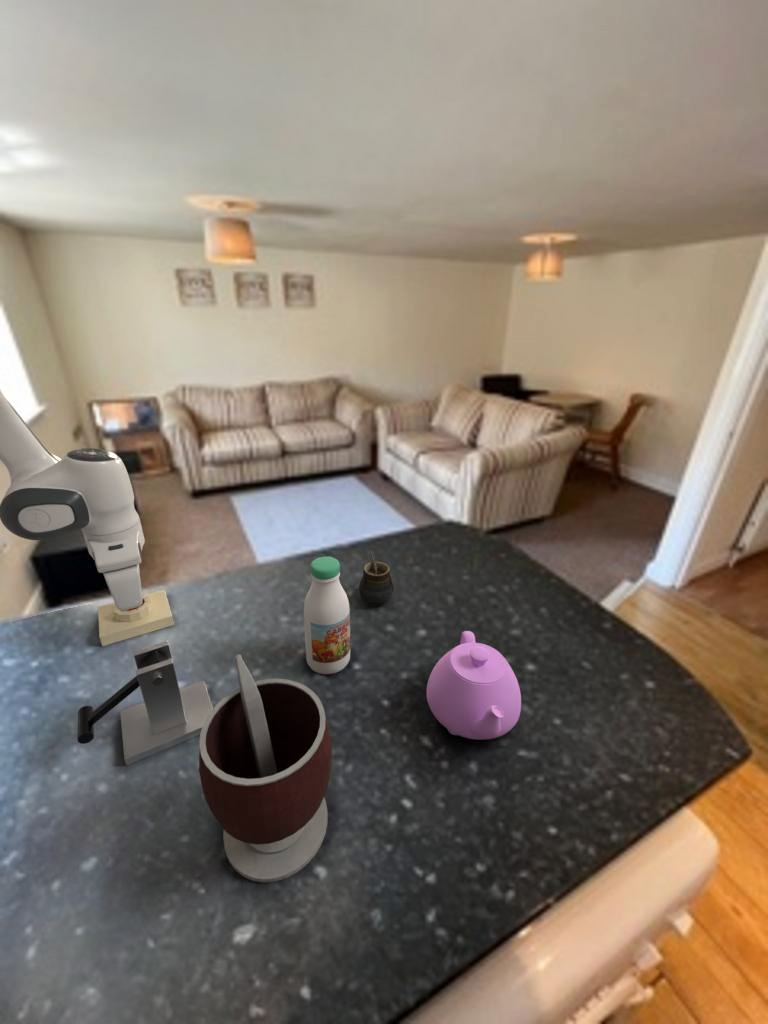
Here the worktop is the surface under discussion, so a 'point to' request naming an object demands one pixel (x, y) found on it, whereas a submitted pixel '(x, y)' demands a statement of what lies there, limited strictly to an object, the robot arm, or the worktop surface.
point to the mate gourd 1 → (267, 774)
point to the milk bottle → (326, 619)
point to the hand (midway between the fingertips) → (132, 601)
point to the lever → (109, 703)
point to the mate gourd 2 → (376, 583)
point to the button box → (134, 618)
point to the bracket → (162, 708)
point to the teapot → (474, 691)
